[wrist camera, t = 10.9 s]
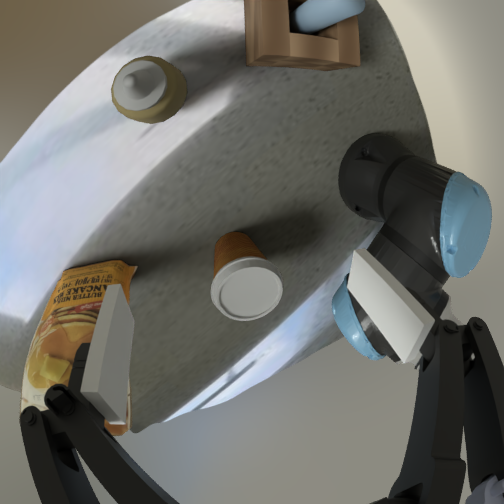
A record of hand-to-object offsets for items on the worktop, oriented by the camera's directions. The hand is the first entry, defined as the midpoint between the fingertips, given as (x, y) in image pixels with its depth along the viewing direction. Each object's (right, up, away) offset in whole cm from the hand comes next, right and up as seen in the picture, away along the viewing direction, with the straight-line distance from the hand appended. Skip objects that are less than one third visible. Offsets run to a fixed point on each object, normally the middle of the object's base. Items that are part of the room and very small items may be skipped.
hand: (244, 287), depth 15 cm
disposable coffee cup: (-2, +2, +30) cm, 30 cm away
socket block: (+5, +33, +14) cm, 36 cm away
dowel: (+6, +32, +12) cm, 35 cm away
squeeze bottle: (-12, +23, +16) cm, 30 cm away
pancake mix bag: (-26, -3, +27) cm, 37 cm away
